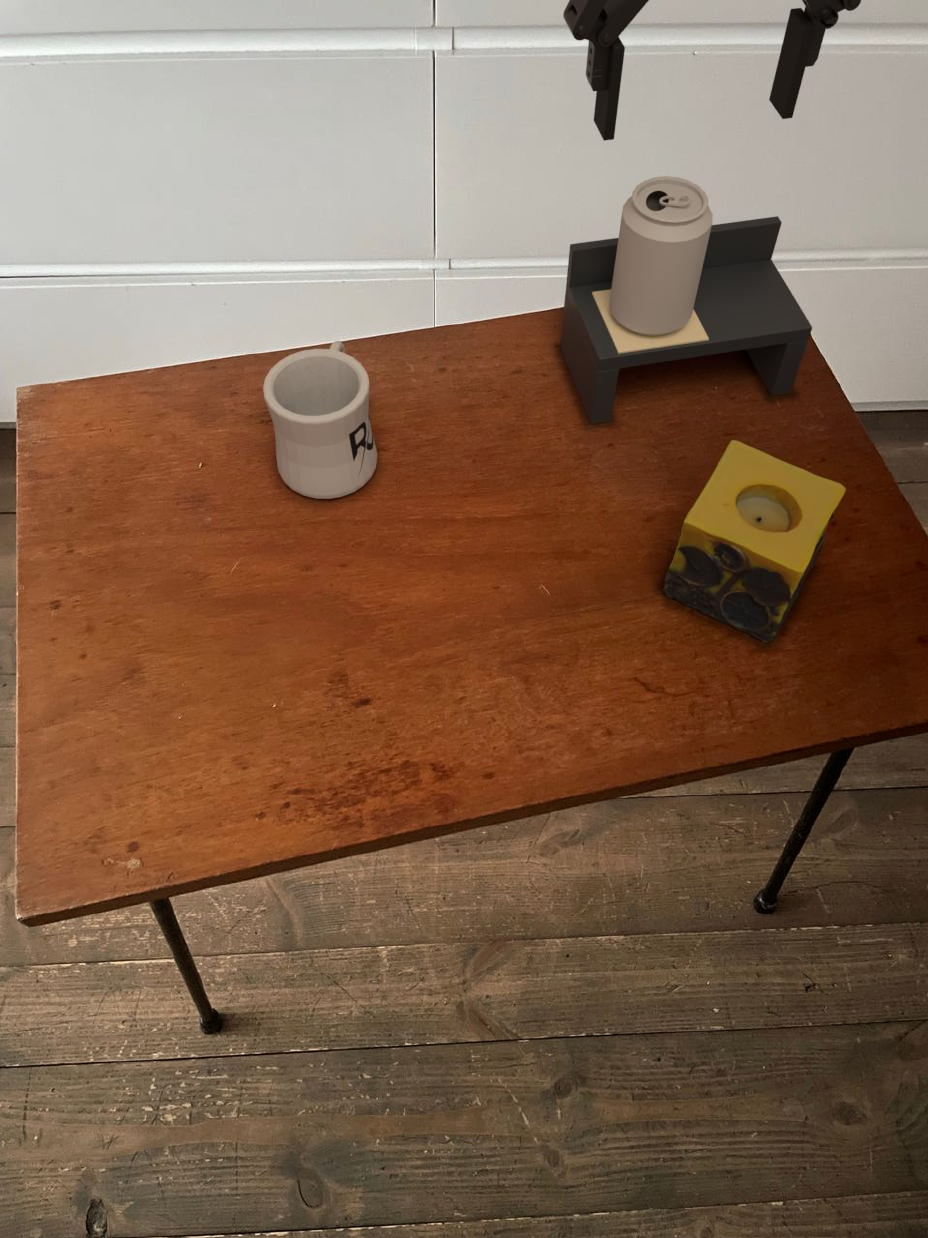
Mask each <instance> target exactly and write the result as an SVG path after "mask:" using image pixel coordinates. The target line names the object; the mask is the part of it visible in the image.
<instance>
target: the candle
mask: <svg viewBox="0 0 928 1238" xmlns="http://www.w3.org/2000/svg"><path fill="white" fill-rule="evenodd" d="M846 491H847V488H846V487H845V486H844V485H843V484H841V483H840V482H837V481H834V480H831V479H828V478H825V477H822V476H819V475H816V474H814V473H812V472H810V471H808V470H805V469H803V468H800V467H798V466H796V465H793V464H791V463H788V462H786V461H783V460H781V459H779V458H777V457H774V456H772V455H770V454H769V453H766V452H764V451H762V450H760V449H757V448H755V447H753V446H750V445H748V444H746V443H743V442H741V441H739V440H735V439H732V440H731V441H730V442H729V444H728V445H727V447H726V449H725V451H724V453H723V455H722V456H721V458H720V460H719V461H718V463H717V464H716V467H715V469H714V471H713V472H712V474H711V476H710V477H709V479H708V480H707V482H706V484H705V486H704V488H703V489H702V491H701V493H700V494H699V496H698V498H697V499H696V501H695V502H694V504H693V505H692V507H691V509H690V510H689V511H688V512H687V514H686V517H685V518H684V521H683V523H682V526H681V530H680V533H681V534H680V536H679V538H678V543H677V545H676V547H675V552H674V555H673V558H672V560H671V563H670V564H669V567H668V569H667V570H668V571H667V572H666V574H665V577H664V586H663V588H662V589H663V590H662V592H663V594H664V596H666V597H667V598H671V599H674V600H676V601H678V602H679V603H681V604H682V605H684V606H687V607H690V608H691V609H695V610H697V611H700V613H701V614H702V615H705V616H707V617H709V618H712V619H715V620H717V621H719V622H721V623H724V624H725V625H729V626H731V627H733V628H734V629H735V630H737V631H741V632H745V633H746V634H748V635H750V636H752V637H754V638H756V639H758V640H759V641H761V642H762V643H766V644H769V643H772V642H773V641H774V640H775V638H776V636H777V635H778V634H779V633H780V629H781V627H782V626H783V625H784V622H785V620H786V619H787V616H788V615H789V614H790V610H791V608H792V606H793V605H794V604H795V601H796V600H797V598H798V596H799V595H800V593H799V592H800V590H801V587H802V586H803V584H804V582H805V580H806V578H807V576H808V575H809V572H810V571H811V570H812V569H813V568H814V567H815V565H816V562H817V557H818V556H819V554H820V553H821V551H822V549H823V546H824V539H825V536H826V532H827V528H828V525H829V522H831V521H832V520H833V519H834V518H835V515H834V512H835V511H836V510H837V507H838V506H839V504H840V503H841V500H842V498H843V497H844V495H845V493H846Z"/></svg>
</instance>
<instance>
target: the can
mask: <svg viewBox="0 0 928 1238" xmlns="http://www.w3.org/2000/svg"><path fill="white" fill-rule="evenodd" d="M713 216H714V215H713V212H712V210H711V209H710V206H709V197H708V195H707V193H706V191H705V190H704V189H703V188H701V187H700V186H699V185H698V184H697V183H694V182H693V181H691V180H689V179H685V178H681V177H678V176H668V175H665V176H655V177H652V178H648V179H645V180H643V181H642V182H640V183H639V184H637V185H636V186H635V188H634V189H633V191H632V195H631V196H630V197H628V198H627V200H626V201H625V203H624V204H623V205H622V210H621V217H620V218H621V219H620V225H619V233H618V238H619V239H618V246H617V253H616V260H615V267H614V274H613V281H612V288H611V295H610V303H609V308H610V310H611V313H612V315H613V316H614V318H615V319H616V320H617V321H618V322H619V323H620V324H622V325H623V326H624V327H625V328H627V329H629V330H630V331H632V332H634V333H637V334H641V335H646V336H659V335H664V334H667V333H670V332H672V331H675V330H678V329H680V328H681V327H682V326H684V325H685V324H686V323H687V322H688V321H689V319H690V317H691V316H692V312H693V308H694V303H695V299H696V294H697V290H698V285H699V281H700V276H701V271H702V267H703V262H704V258H705V253H706V249H707V244H708V240H709V235H710V231H711V226H712V225H713Z"/></svg>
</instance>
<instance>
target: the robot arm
mask: <svg viewBox="0 0 928 1238" xmlns="http://www.w3.org/2000/svg"><path fill="white" fill-rule="evenodd" d="M649 1H650V0H568V2H567V5H566V7H565V8H564V11H563V14H562V16H563V19H564V22H565V23H566V25H567V27H568V30H569V31H570V33H571V35H572V37H573V38H574V39H575V40H576V41H584V40H586V41H588V45H587V56H586V68H585V76H586V80H587V82H588V85H589V86H590V89H591V90H592V92H596V93H595V101H594V102H595V103H594V104H595V105H594V112H593V122H594V124H595V126H596V128H597V130H598V132H599V134H600V136H601V138H602V140H603V142H606V141H610V140H611V141H614V140H615V134H616V127H617V126H616V124H617V118H618V110H619V109H618V108H619V101H620V93H621V83H622V77H623V76H622V75H623V67H624V59H625V50H626V47H625V45H624V43H623V42H622V40H621V38H620V36H621V34H623V32H624V31H625V30H626V28H627V27H629V25H630V24H631V22H632V21H633V20H634V19H635V18H636V16H637V15H638V14H639V13H640V11H641V10H642V9H643V8H644V7H645V6H646V4H647V3H648V2H649ZM801 1H802V3H803V5H804V6H805V7H804V9H803V8H802V7H796V8H795V7H794V8H790V11H789V15H788V20H787V22H786V27H785V32H784V36H783V39H782V43H781V49H780V53H779V57H778V60H777V61H778V62H777V65H776V69H775V73H774V78H773V81H772V85H771V90H770V94H769V99H768V101H769V102H770V103H771V105H772V107H773V108H774V109H775V111H776V112H777V114H778V115H779V117H780V118H781V119H782V120H787V119H788V120H789V119H793V117H794V113H795V109H796V105H797V102H798V97H799V94H800V90H801V87H802V82H803V78H804V75H805V70H806V68H807V67H814V65H815V64H816V62H817V61H818V59H819V55H820V52H821V48H822V44H823V42H824V36H825V33H826V30H828V29H832V28H833V27H834V26H835V25H836V24H837V22H839V21H838V20H839V18H840V16H839V13H840V12H842V11H844V10H846V11H847V12H851V11H854V10H856V9H858V7H859V6H860V5H861V3H862V0H801Z"/></svg>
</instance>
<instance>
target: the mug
mask: <svg viewBox="0 0 928 1238" xmlns="http://www.w3.org/2000/svg"><path fill="white" fill-rule="evenodd" d="M345 347H346V346H345V344H344V343H343V342H342V341H340V340H335V341H333V342H332V343H331V345H330V347H329V348H313V349H304V350H301V351H300V350H299V351H297V352H294V353H291V354H288V355H287V356H286V357H284V358H282V359H280V360H279V361H278V362H276V364H275V365H274V366H272V367H271V368H270V369H269V371H268V373H267V375H266V376H265V378H264V381H263V384H262V385H263V386H262V392H263V399H264V402H265V404H266V407H267V410H268V413H269V415H270V419H271V421H272V424H273V429H274V435H275V457H276V466H277V472H278V474H279V476H280V477H281V479H282V481H283V482H284V483H283V484H285V485H286V486H288V488H290V489H291V490H292V491H293V492H296V493H297V494H299V495H301V496H304V497H308V498H313V499H318V500H319V499H320V500H323V499H324V500H331V499H336V498H342V497H344V496H347V495H350V494H352V493H355V492H356V491H358V490H360V489H361V488H362V487H364V486H365V485H366V484H367V483H368V482H369V481H370V479H372V477H373V475H374V473H375V471H376V469H377V463H378V456H379V455H378V451H377V447H376V442H375V438H374V437H375V436H374V434H373V430H372V424H371V417H370V410H369V407H370V388H371V387H370V385H371V382H370V379H369V375H368V374H369V373H368V372H367V370H366V369H365V367H364V365H363V364H362V363H361V362H360V361H358V360H357V359H356V358H355V357H353V356H351V355H349V354H347V353H346V348H345Z"/></svg>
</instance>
